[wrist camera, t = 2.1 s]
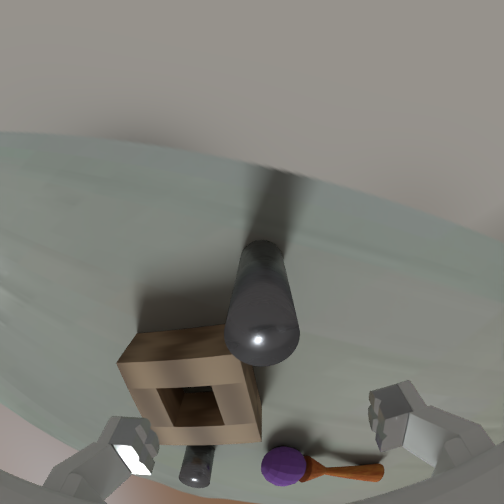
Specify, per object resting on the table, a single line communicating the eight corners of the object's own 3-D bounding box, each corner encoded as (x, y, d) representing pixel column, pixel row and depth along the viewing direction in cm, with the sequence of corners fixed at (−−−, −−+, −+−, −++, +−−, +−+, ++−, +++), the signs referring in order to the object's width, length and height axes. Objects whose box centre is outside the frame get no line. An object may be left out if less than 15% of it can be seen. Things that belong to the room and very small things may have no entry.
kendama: (367, 494, 35) (253, 488, 32) (362, 465, 40) (254, 453, 37) (393, 480, 33) (273, 475, 30) (385, 449, 38) (273, 436, 35)
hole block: (242, 321, 31) (238, 353, 25) (261, 405, 34) (261, 441, 28) (136, 333, 32) (116, 362, 26) (169, 411, 35) (157, 444, 29)
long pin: (279, 236, 29) (294, 295, 15) (285, 277, 30) (303, 360, 16) (236, 244, 29) (216, 308, 16) (244, 283, 30) (232, 370, 17)
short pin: (210, 440, 36) (204, 473, 30) (217, 456, 37) (213, 488, 31) (183, 440, 37) (174, 472, 31) (191, 456, 38) (184, 487, 32)
